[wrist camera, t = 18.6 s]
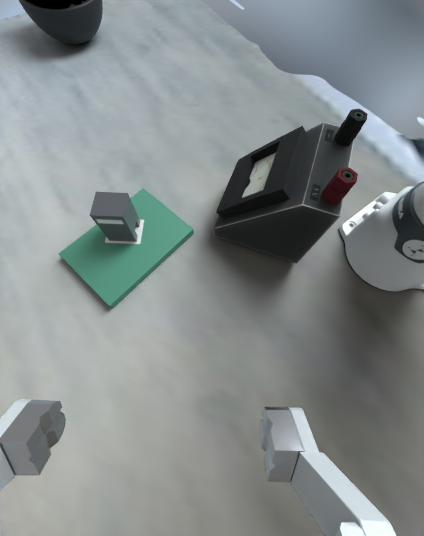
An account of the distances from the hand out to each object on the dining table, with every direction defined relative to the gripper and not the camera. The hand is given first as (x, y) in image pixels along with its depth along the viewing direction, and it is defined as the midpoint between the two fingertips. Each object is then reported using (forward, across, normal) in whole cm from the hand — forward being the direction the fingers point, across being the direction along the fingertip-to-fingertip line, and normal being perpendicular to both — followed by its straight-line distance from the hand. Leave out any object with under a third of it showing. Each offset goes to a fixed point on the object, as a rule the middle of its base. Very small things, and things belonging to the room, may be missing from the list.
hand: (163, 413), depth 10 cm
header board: (+37, +13, +5) cm, 39 cm away
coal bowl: (+83, +39, -42) cm, 101 cm away
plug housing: (+37, +14, +2) cm, 40 cm away
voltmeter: (+42, -12, 0) cm, 44 cm away
